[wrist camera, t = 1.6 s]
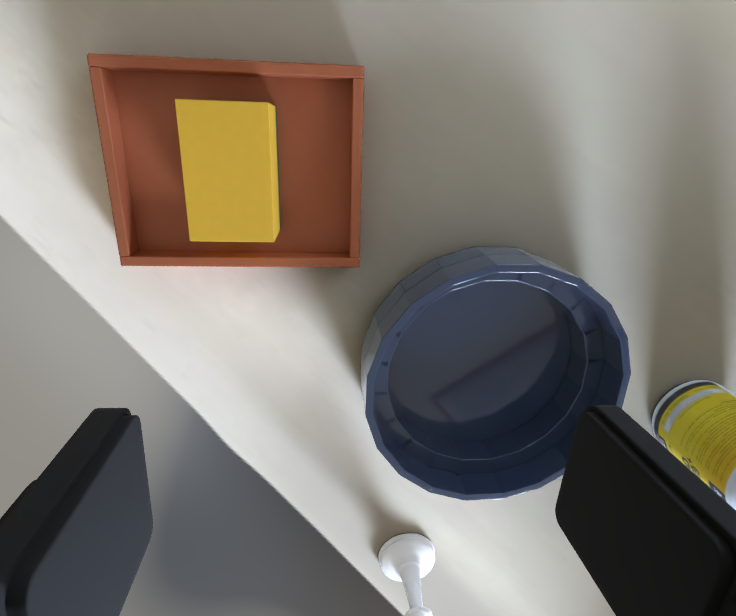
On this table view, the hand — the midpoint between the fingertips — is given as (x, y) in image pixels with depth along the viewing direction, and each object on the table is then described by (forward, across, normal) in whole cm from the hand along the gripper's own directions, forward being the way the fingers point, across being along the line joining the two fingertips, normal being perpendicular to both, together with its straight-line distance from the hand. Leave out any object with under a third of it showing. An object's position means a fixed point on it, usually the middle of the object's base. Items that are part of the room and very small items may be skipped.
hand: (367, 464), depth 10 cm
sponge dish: (+22, +6, -4) cm, 23 cm away
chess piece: (+22, -7, +27) cm, 36 cm away
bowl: (+22, -11, +8) cm, 25 cm away
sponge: (+21, +6, -4) cm, 22 cm away
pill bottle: (+21, -29, +12) cm, 38 cm away
